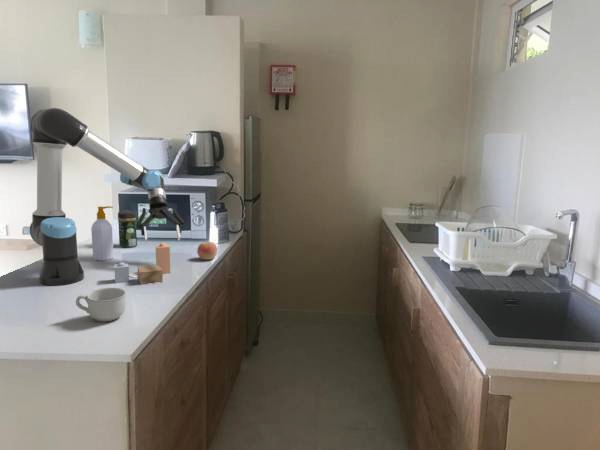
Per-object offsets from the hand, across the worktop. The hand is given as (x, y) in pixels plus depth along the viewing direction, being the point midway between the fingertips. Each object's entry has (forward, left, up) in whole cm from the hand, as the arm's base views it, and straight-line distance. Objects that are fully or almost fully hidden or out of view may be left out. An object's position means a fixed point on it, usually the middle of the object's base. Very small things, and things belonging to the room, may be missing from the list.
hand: (162, 240), depth 194 cm
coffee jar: (+13, +47, -12) cm, 50 cm away
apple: (+21, -4, -12) cm, 25 cm away
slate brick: (-22, -4, -12) cm, 26 cm away
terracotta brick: (-5, -6, -12) cm, 14 cm away
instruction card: (-13, -1, -12) cm, 18 cm away
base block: (-15, -12, -12) cm, 23 cm away
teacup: (-47, -34, -12) cm, 60 cm away
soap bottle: (-8, +33, -12) cm, 36 cm away
